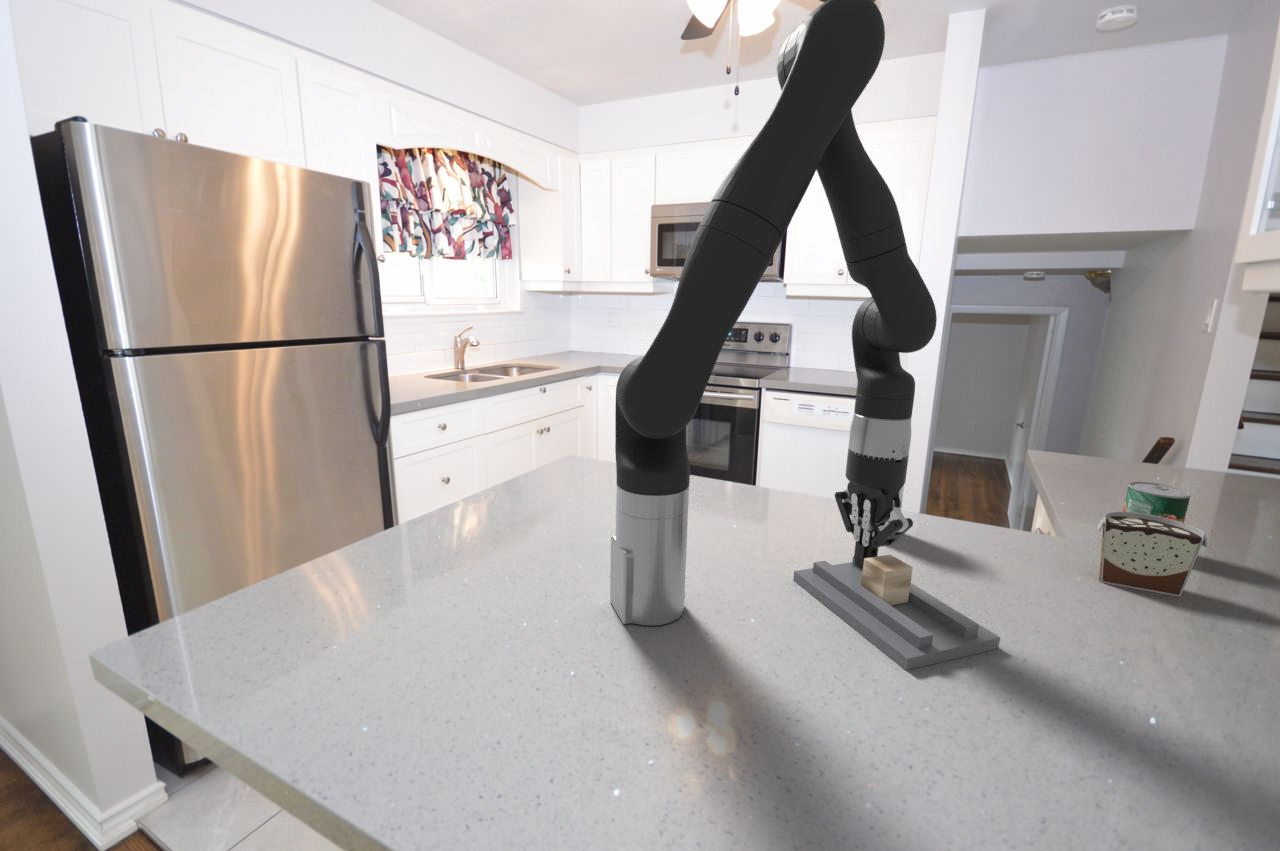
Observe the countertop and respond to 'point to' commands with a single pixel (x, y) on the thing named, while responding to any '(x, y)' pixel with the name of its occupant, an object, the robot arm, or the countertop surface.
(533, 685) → the countertop surface
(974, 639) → the grey rail board
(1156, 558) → the food container
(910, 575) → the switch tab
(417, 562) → the countertop surface
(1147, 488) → the canned tomato
